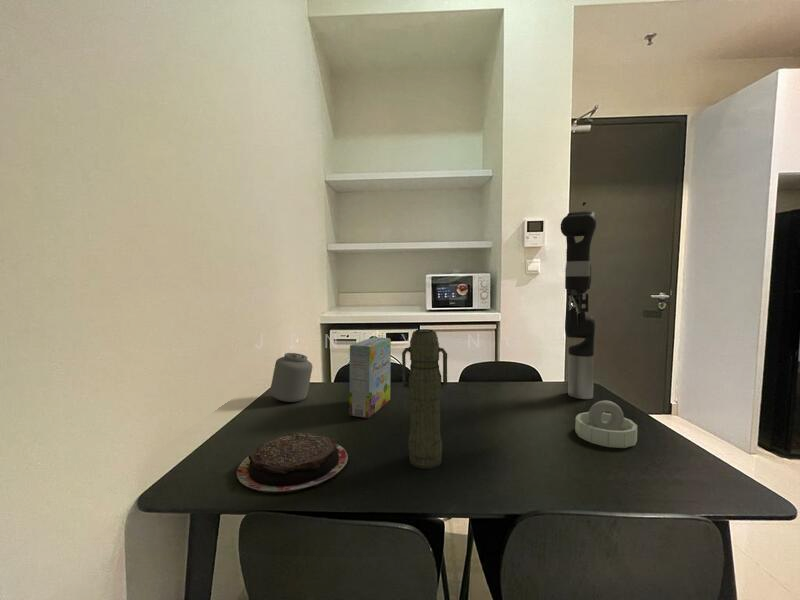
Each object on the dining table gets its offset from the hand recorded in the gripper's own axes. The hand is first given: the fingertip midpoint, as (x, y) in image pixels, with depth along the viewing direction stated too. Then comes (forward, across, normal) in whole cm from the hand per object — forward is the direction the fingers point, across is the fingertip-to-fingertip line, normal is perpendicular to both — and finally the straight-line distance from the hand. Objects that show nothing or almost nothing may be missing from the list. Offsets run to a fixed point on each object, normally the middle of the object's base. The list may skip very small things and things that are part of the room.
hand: (576, 323), depth 124 cm
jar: (+33, +9, +106) cm, 111 cm away
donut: (+32, -12, -5) cm, 35 cm away
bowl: (+33, -12, -5) cm, 36 cm away
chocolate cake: (+34, -42, +82) cm, 98 cm away
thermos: (+33, -35, +48) cm, 68 cm away
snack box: (+33, +3, +72) cm, 79 cm away
